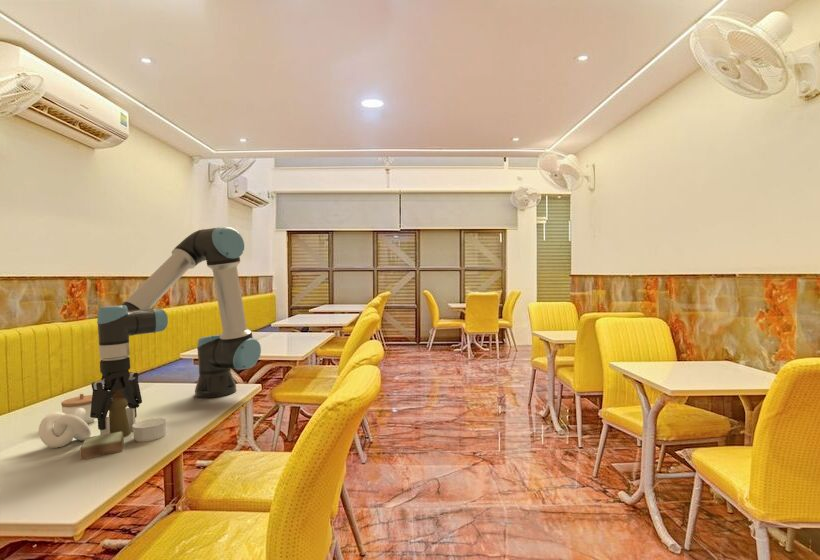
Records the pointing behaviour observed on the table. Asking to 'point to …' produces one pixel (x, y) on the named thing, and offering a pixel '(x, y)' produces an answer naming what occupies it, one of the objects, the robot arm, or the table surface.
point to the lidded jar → (79, 406)
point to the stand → (102, 445)
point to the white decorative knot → (63, 428)
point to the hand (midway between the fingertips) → (118, 434)
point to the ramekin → (149, 429)
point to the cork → (119, 416)
